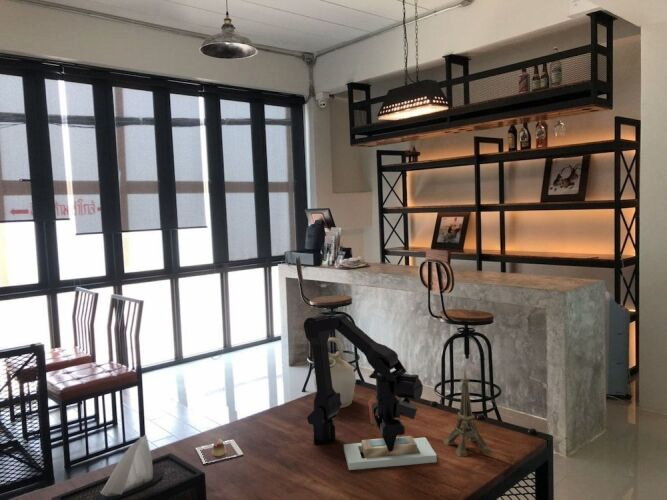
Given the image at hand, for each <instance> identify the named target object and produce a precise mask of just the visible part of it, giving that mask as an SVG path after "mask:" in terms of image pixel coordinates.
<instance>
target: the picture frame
mask: <svg viewBox="0 0 667 500" xmlns="http://www.w3.org/2000/svg"><path fill="white" fill-rule="evenodd" d="M413 438H414V437H413V435H405V436H396V439H395V443H394V448H393V451H391V452H389V451H388V448H387V446H386V443H385V441H384V439H383V437H381V438H373V439H369V438H368V439H361V443H362V451H363V452H362V454H363V456H364V458H374V457H385V456H396V455H408V454H417V444H416V442H415V441H414V439H413Z"/></svg>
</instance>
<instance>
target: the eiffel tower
mask: <svg viewBox="0 0 667 500" xmlns="http://www.w3.org/2000/svg"><path fill="white" fill-rule="evenodd" d="M463 372H464V374H463V375H464V376H463V377H461V378H460V380H459V381H460V382H461V383H462V384H461V395H460V396H461V397H460V406H459V407H460V408H459V411H458V412H457V416H458V419H457V423H456V424H455V425H454V429H453V430H452V431H451V433H450V434H449V435H448V436H447V437H446V439H444V440H443V441H442V443H443V444H444V445H445V446H452V445H456V442H455V441H456V440H457V438H460V441H459V444H458V446H457V448H456V450H455V451H454V454H455V455H456V456H457V457H459V458H460V457H461V458H462V457H466V456H468V453H467V446H466V443H467V442H466V440H468V441H469V442H477V444H478V449H479V450H480V451H481V452H482V453H489V452H490V453H491V452H493V450H492V449H491V448H489V446H488V444H487V443H486V441H485V440H484V438H483V437H482V436H481V435H480V433H479V429H477V427H476V424H475V420H474V419H475V415H474V414H473V412H472V411H473V410H472V405H471V404H472V403H471V398H470V390H469V383H470V382H471V381H470V379H469V377H466V369H464V371H463Z"/></svg>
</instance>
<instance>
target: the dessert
mask: <svg viewBox="0 0 667 500" xmlns="http://www.w3.org/2000/svg"><path fill="white" fill-rule="evenodd" d="M229 444H230V445H231V446H232V448H233V449H234V450H235V453H236V454H235V455H231V456H227V457H224V458H220V459H216V460H211V461H206V462H205V460H206V459H205V460H204V458H205V457H204V458H203V456H204V454H203V452H202V451H203V449H204V450H207V449H212V451H211V455H212V456H214V457H221V456H224V455H226V454H227V452H228V451H227V448H226V445H229ZM195 450H196V452H197V454H198V457H199V458H200V460H201V462H202V464H204V465H207V464H206V463H208V464H211V462H212V463H215V462H220V461H223V460H228V459H232V458H235V457H236V458H237V457H240V456H242V455H244V453H243V451H242V450H241V448H240V447H239V445H238V444H237V442H236V441H235V439H228V440H225V441H223V440H222V439H221V438H219V439H218V441H217V442H215V443H211V444H206V445H201V446H198V447H195ZM200 450H201V451H200ZM201 452H202V453H201ZM202 454H203V455H202Z"/></svg>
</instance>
